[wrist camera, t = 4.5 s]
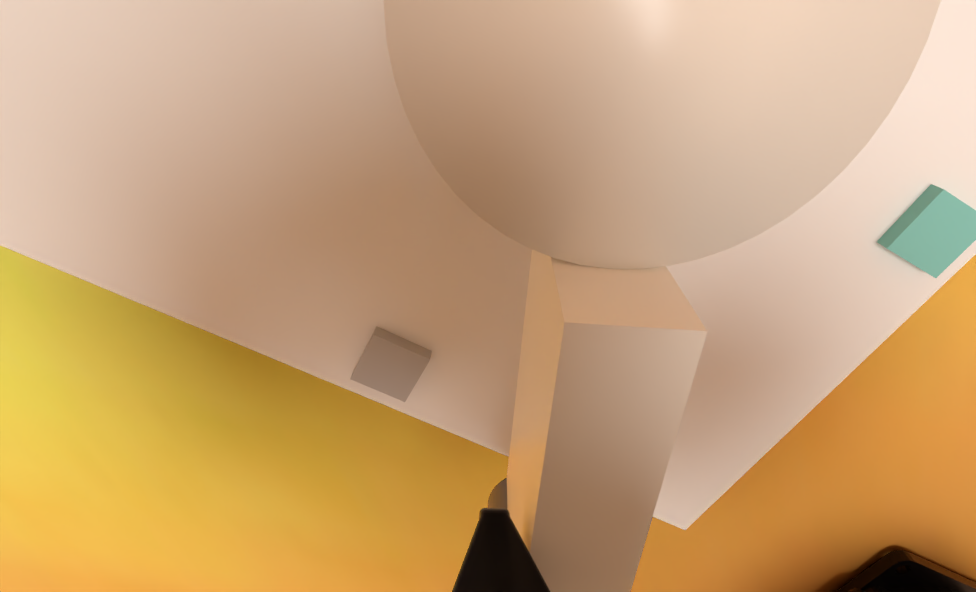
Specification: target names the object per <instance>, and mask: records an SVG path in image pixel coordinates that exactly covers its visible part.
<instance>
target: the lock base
mask: <svg viewBox="0 0 976 592" xmlns="http://www.w3.org/2000/svg"><path fill="white" fill-rule="evenodd" d="M383 1H384V0H0V245H1V246H3V247H6V248H8V249H10V250H13V251H15V252H18V253H20V254H22V255H25V256H27V257H30V258H32V259H34V260H37V261H39V262H42V263H44V264H46V265H49V266H51V267H54V268H56V269H59V270H61V271H63V272H66V273H68V274H71V275H73V276H75V277H78V278H80V279H83V280H85V281H87V282H90V283H92V284H95V285H97V286H99V287H102V288H104V289H107V290H109V291H111V292H114V293H116V294H119V295H121V296H123V297H126V298H128V299H131V300H133V301H135V302H138V303H140V304H143V305H145V306H147V307H150V308H152V309H155V310H157V311H159V312H162V313H164V314H167V315H169V316H172V317H174V318H176V319H179V320H181V321H184V322H186V323H188V324H191V325H193V326H196V327H198V328H200V329H203V330H205V331H208V332H210V333H212V334H215V335H217V336H220V337H222V338H224V339H227V340H229V341H232V342H234V343H236V344H239V345H241V346H244V347H246V348H248V349H251V350H253V351H256V352H258V353H260V354H263V355H265V356H268V357H270V358H272V359H275V360H277V361H280V362H282V363H285V364H287V365H289V366H292V367H294V368H297V369H299V370H301V371H304V372H306V373H309V374H311V375H313V376H316V377H318V378H321V379H323V380H325V381H328V382H330V383H333V384H335V385H337V386H340V387H342V388H345V389H347V390H349V391H352V392H354V393H357V394H359V395H361V396H364V397H366V398H369V399H371V400H373V401H376V402H378V403H381V404H383V405H385V406H388V407H390V408H393V409H395V410H397V411H400V412H402V413H405V414H407V415H410V416H412V417H414V418H417V419H419V420H422V421H424V422H426V423H429V424H431V425H434V426H436V427H438V428H441V429H443V430H446V431H448V432H450V433H453V434H455V435H458V436H460V437H462V438H465V439H467V440H470V441H472V442H474V443H477V444H479V445H482V446H484V447H486V448H489V449H491V450H494V451H496V452H498V453H501V454H503V455H506V456H508V457H509V452H510V443H511V434H512V425H513V416H514V407H515V398H516V389H517V380H518V371H519V362H520V353H521V344H522V335H523V325H524V316H525V307H526V298H527V289H528V280H529V271H530V262H531V253H532V249H530V248H528V247H526V246H524V245H522V244H520V243H518V242H517V241H515V240H513V239H511V238H509V237H507V236H506V235H504V234H502V233H501V232H499V231H498V230H497V229H495V228H494V227H493V226H491V225H490V224H488V223H487V222H486V221H484V220H483V219H482V218H480V217H479V216H478V215H477V214H476V213H475V212H474V211H473V210H471V209H470V208H469V207H468V206H467V205H466V204H465V203H464V202H463V201H462V200H461V199H460V198H459V197H458V196H457V195H456V194H455V193H454V192H453V190H452V189H451V188H450V187H449V185H448V184H447V183H446V182H445V181H444V179H443V178H442V177H441V176H440V174H439V173H438V172H437V171H436V169H435V167H434V166H433V164H432V163H431V161H430V159H429V158H428V156H427V155H426V153H425V151H424V150H423V148H422V147H421V145H420V143H419V141H418V139H417V137H416V135H415V133H414V131H413V128H412V126H411V124H410V122H409V120H408V118H407V116H406V113H405V111H404V108H403V105H402V101H401V98H400V95H399V92H398V89H397V86H396V83H395V80H394V76H393V71H392V66H391V61H390V56H389V51H388V46H387V40H386V27H385V15H384V2H383ZM975 254H976V0H941V2H940V5H939V8H938V11H937V14H936V16H935V19H934V22H933V25H932V28H931V31H930V34H929V37H928V40H927V43H926V45H925V47H924V49H923V51H922V53H921V56H920V58H919V60H918V62H917V64H916V66H915V69H914V71H913V73H912V75H911V77H910V79H909V81H908V83H907V84H906V86H905V88H904V89H903V91H902V93H901V95H900V96H899V98H898V100H897V101H896V103H895V105H894V106H893V108H892V110H891V112H890V113H889V115H888V116H887V117H886V119H885V120H884V121H883V123H882V124H881V126H880V127H879V128H878V130H877V131H876V132H875V134H874V135H873V136H872V138H871V139H870V141H869V142H868V143H867V145H866V146H865V147H864V148H863V149H862V150H861V151H860V152H859V154H858V155H857V156H856V157H855V158H854V159H853V160H852V161H851V163H850V164H849V165H848V166H847V167H846V168H845V169H844V170H843V171H842V173H840V174H839V175H838V176H837V177H836V178H835V179H834V180H833V181H832V182H831V183H830V184H829V185H827V186H826V187H825V188H824V189H823V190H822V191H821V192H820V193H819V194H818V195H817V196H815V197H814V198H813V199H812V200H810V201H809V202H808V203H806V204H805V205H804V206H802V207H801V208H800V209H798V210H797V211H796V212H794V213H793V214H792V215H790V216H789V217H788V218H786V219H784V220H783V221H781V222H779V223H778V224H776V225H774V226H773V227H771V228H769V229H768V230H766V231H764V232H763V233H761V234H759V235H757V236H755V237H753V238H751V239H749V240H747V241H745V242H743V243H740V244H738V245H736V246H734V247H732V248H730V249H727V250H724V251H721V252H719V253H716V254H713V255H710V256H707V257H704V258H701V259H698V260H693V261H689V262H684V263H680V264H676V265H671V266H666V267H667V269H668V270H669V272H670V273H671V275H672V276H673V278H674V280H675V281H676V283H677V284H678V286H679V287H680V289H681V291H682V292H683V294H684V295H685V297H686V298H687V300H688V301H689V303H690V305H691V306H692V308H693V309H694V311H695V312H696V314H697V316H698V317H699V319H700V320H701V322H702V323H703V325H704V327H705V328H706V330H707V334H706V338H705V341H704V345H703V348H702V351H701V355H700V358H699V362H698V365H697V368H696V372H695V375H694V378H693V382H692V385H691V389H690V392H689V395H688V399H687V402H686V406H685V409H684V412H683V416H682V419H681V422H680V426H679V429H678V433H677V436H676V439H675V443H674V446H673V450H672V453H671V456H670V460H669V463H668V466H667V470H666V473H665V477H664V480H663V483H662V487H661V490H660V493H659V497H658V500H657V504H656V507H655V510H654V514H653V517H655V518H657V519H660V520H662V521H664V522H667V523H669V524H672V525H674V526H676V527H679V528H681V529H684V530H686V529H687V528H688V527H689V526H690V525H691V524H692V523H693V522H694V521H695V520H697V519H698V518H699V517H700V516H701V515H702V514H703V513H704V512H705V511H706V510H707V509H708V508H709V507H710V506H711V505H712V504H713V503H714V502H715V501H716V500H718V499H719V498H720V497H721V496H722V495H723V494H724V493H725V492H726V491H727V490H728V489H729V488H730V487H731V486H732V485H733V484H734V483H735V482H736V481H738V480H739V479H740V478H741V477H742V476H743V475H744V474H745V473H746V472H747V471H748V470H749V469H750V468H751V467H752V466H753V465H754V464H755V463H756V462H758V461H759V460H760V459H761V458H762V457H763V456H764V455H765V454H766V453H767V452H768V451H769V450H770V449H771V448H772V447H773V446H774V445H775V444H776V443H777V442H779V441H780V440H781V439H782V438H783V437H784V436H785V435H786V434H787V433H788V432H789V431H790V430H791V429H792V428H793V427H794V426H795V425H796V424H797V423H799V422H800V421H801V420H802V419H803V418H804V417H805V416H806V415H807V414H808V413H809V412H810V411H811V410H812V409H813V408H814V407H815V406H816V405H817V404H818V403H820V402H821V401H822V400H823V399H824V398H825V397H826V396H827V395H828V394H829V393H830V392H831V391H832V390H833V389H834V388H835V387H836V386H837V385H838V384H840V383H841V382H842V381H843V380H844V379H845V378H846V377H847V376H848V375H849V374H850V373H851V372H852V371H853V370H854V369H855V368H856V367H857V366H858V365H860V364H861V363H862V362H863V361H864V360H865V359H866V358H867V357H868V356H869V355H870V354H871V353H872V352H873V351H874V350H875V349H876V348H877V347H878V346H879V345H881V344H882V343H883V342H884V341H885V340H886V339H887V338H888V337H889V336H890V335H891V334H892V333H893V332H894V331H895V330H896V329H897V328H898V327H899V326H901V325H902V324H903V323H904V322H905V321H906V320H907V319H908V318H909V317H910V316H911V315H912V314H913V313H914V312H915V311H916V310H917V309H918V308H919V307H920V306H922V305H923V304H924V303H925V302H926V301H927V300H928V299H929V298H930V297H931V296H932V295H933V294H934V293H935V292H936V291H937V290H938V289H939V288H940V287H942V286H943V285H944V284H945V283H946V282H947V281H948V280H949V279H950V278H951V277H952V276H953V275H954V274H955V273H956V272H957V271H958V270H959V269H960V268H962V267H963V266H964V265H965V264H966V263H967V262H968V261H969V260H970V259H971V258H972V257H973V256H974V255H975Z"/></svg>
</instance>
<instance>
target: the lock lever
mask: <svg viewBox="0 0 976 592" xmlns="http://www.w3.org/2000/svg"><path fill="white" fill-rule="evenodd" d="M383 2H384V15H385V27H386V40H387V46H388V51H389V56H390V61H391V66H392V71H393V76H394V80H395V83H396V86H397V89H398V92H399V95H400V98H401V101H402V105H403V108H404V111H405V113H406V116H407V118H408V120H409V122H410V124H411V126H412V128H413V131H414V133H415V135H416V137H417V139H418V141H419V143H420V145H421V147H422V148H423V150H424V151H425V153H426V155H427V156H428V158H429V159H430V161H431V163H432V164H433V166H434V167H435V169H436V171H437V172H438V173H439V174H440V176H441V177H442V178H443V179H444V181H445V182H446V183H447V184H448V185H449V187H450V188H451V189H452V190H453V192H454V193H455V194H456V195H457V196H458V197H459V198H460V199H461V200H462V201H463V202H464V203H465V204H466V205H467V206H468V207H469V208H470V209H471V210H473V211H474V212H475V213H476V214H477V215H478V216H479V217H480V218H482V219H483V220H484V221H486V222H487V223H488V224H490V225H491V226H493V227H494V228H495V229H497V230H498V231H499V232H501V233H502V234H504V235H506V236H507V237H509V238H511V239H513V240H515V241H517V242H518V243H520V244H522V245H524V246H526V247H528V248H530V249H532V253H531V262H530V271H529V280H528V289H527V298H526V307H525V316H524V325H523V335H522V344H521V353H520V362H519V371H518V380H517V389H516V398H515V407H514V416H513V425H512V434H511V443H510V452H509V462H508V471H507V478H505V479H504V480H502V481H501V482H500V483H499V484H497V485H496V487H495V488H494V489H493V490H492V492H491V494H490V496H489V500H488V508H505V509H507V510H508V511H509V513H510V517H511V519H512V521H513V523H514V525H515V527H516V528H517V530H518V532H519V534H520V536H521V538H522V540H523V541H524V543H525V545H526V547H527V549H528V551H529V553H530V554H531V556H532V558H533V560H534V562H535V564H536V566H537V567H538V569H539V571H540V573H541V575H542V577H543V579H544V581H545V582H546V584H547V586H548V588H549V590H550V592H631V588H632V585H633V581H634V578H635V575H636V571H637V568H638V565H639V561H640V558H641V554H642V551H643V548H644V544H645V541H646V537H647V534H648V531H649V527H650V524H651V521H652V517H653V514H654V510H655V507H656V504H657V500H658V497H659V493H660V490H661V487H662V483H663V480H664V477H665V473H666V470H667V466H668V463H669V460H670V456H671V453H672V450H673V446H674V443H675V439H676V436H677V433H678V429H679V426H680V422H681V419H682V416H683V412H684V409H685V406H686V402H687V399H688V395H689V392H690V389H691V385H692V382H693V378H694V375H695V372H696V368H697V365H698V362H699V358H700V355H701V351H702V348H703V345H704V341H705V338H706V334H707V330H706V328H705V327H704V325H703V323H702V322H701V320H700V319H699V317H698V316H697V314H696V312H695V311H694V309H693V308H692V306H691V305H690V303H689V301H688V300H687V298H686V297H685V295H684V294H683V292H682V291H681V289H680V287H679V286H678V284H677V283H676V281H675V280H674V278H673V276H672V275H671V273H670V272H669V270H668V269H667V267H666V266H671V265H676V264H680V263H684V262H689V261H693V260H698V259H701V258H704V257H707V256H710V255H713V254H716V253H719V252H721V251H724V250H727V249H730V248H732V247H734V246H736V245H738V244H740V243H743V242H745V241H747V240H749V239H751V238H753V237H755V236H757V235H759V234H761V233H763V232H764V231H766V230H768V229H769V228H771V227H773V226H774V225H776V224H778V223H779V222H781V221H783V220H784V219H786V218H788V217H789V216H790V215H792V214H793V213H794V212H796V211H797V210H798V209H800V208H801V207H802V206H804V205H805V204H806V203H808V202H809V201H810V200H812V199H813V198H814V197H815V196H817V195H818V194H819V193H820V192H821V191H822V190H823V189H824V188H825V187H826V186H827V185H829V184H830V183H831V182H832V181H833V180H834V179H835V178H836V177H837V176H838V175H839V174H840V173H842V171H843V170H844V169H845V168H846V167H847V166H848V165H849V164H850V163H851V161H852V160H853V159H854V158H855V157H856V156H857V155H858V154H859V152H860V151H861V150H862V149H863V148H864V147H865V146H866V145H867V143H868V142H869V141H870V139H871V138H872V136H873V135H874V134H875V132H876V131H877V130H878V128H879V127H880V126H881V124H882V123H883V121H884V120H885V119H886V117H887V116H888V115H889V113H890V112H891V110H892V108H893V106H894V105H895V103H896V101H897V100H898V98H899V96H900V95H901V93H902V91H903V89H904V88H905V86H906V84H907V83H908V81H909V79H910V77H911V75H912V73H913V71H914V69H915V66H916V64H917V62H918V60H919V58H920V56H921V53H922V51H923V49H924V47H925V45H926V43H927V40H928V37H929V34H930V31H931V28H932V25H933V22H934V19H935V16H936V14H937V11H938V8H939V5H940V2H941V0H384V1H383Z"/></svg>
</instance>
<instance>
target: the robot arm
mask: <svg viewBox="0 0 976 592" xmlns="http://www.w3.org/2000/svg"><path fill="white" fill-rule="evenodd" d="M452 592H550V590H549V588H548V586H547V584H546V582H545V581H544V579H543V577H542V575H541V573H540V571H539V569H538V567H537V566H536V564H535V562H534V560H533V558H532V556H531V554H530V553H529V551H528V549H527V547H526V545H525V543H524V541H523V540H522V538H521V536H520V534H519V532H518V530H517V528H516V527H515V525H514V523H513V521H512V519H511V517H510V513H509V511H508V510H507V509H505V508H483V509H481V511H480V513H479V521H478V524H477V527H476V529H475V532H474V534H473V537H472V540H471V542H470V545H469V548H468V550H467V553H466V556H465V558H464V561H463V564H462V566H461V569H460V572H459V574H458V577H457V580H456V582H455V585H454V588H453V590H452ZM836 592H976V582H974V581H971V580H969V579H967V578H965V577H963V576H960V575H958V574H956V573H954V572H952V571H949V570H947V569H945V568H943V567H941V566H938V565H936V564H934V563H932V562H930V561H927V560H925V559H923V558H921V557H919V556H916V555H914V554H912V553H910V552H908V551H904V550H897V551H893V552H890V553H888V554H887V555H885V556H884V557H882V558H881V559H880V560H878V561H877V562H876V563H874V564H873V565H872V566H870V567H869V568H868V569H866V570H865V571H863V572H862V573H861V574H859V575H858V576H857V577H855V578H854V579H853V580H851V581H850V582H849V583H847V584H846V585H845V586H843V587H842V588H840V589H839V590H838V591H836Z"/></svg>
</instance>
